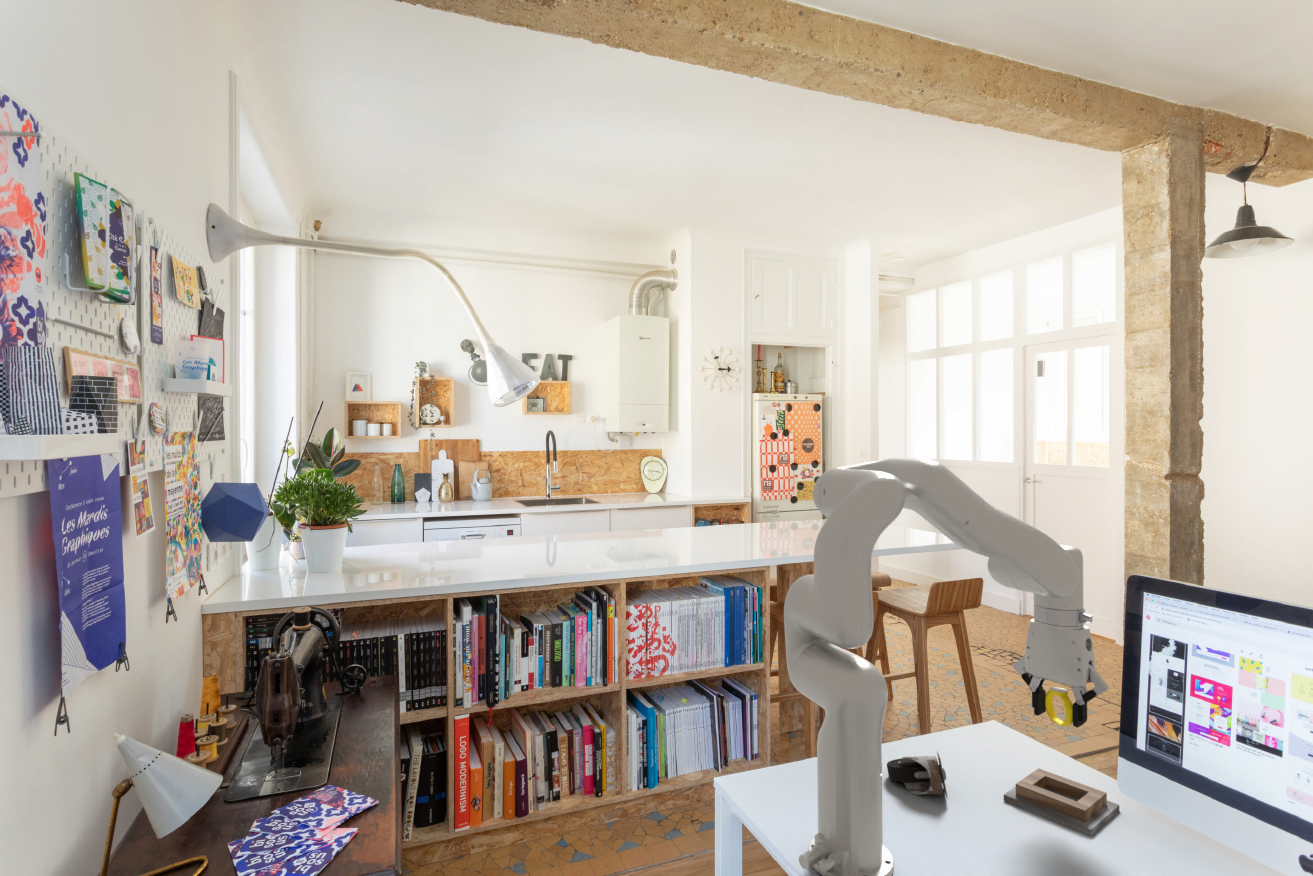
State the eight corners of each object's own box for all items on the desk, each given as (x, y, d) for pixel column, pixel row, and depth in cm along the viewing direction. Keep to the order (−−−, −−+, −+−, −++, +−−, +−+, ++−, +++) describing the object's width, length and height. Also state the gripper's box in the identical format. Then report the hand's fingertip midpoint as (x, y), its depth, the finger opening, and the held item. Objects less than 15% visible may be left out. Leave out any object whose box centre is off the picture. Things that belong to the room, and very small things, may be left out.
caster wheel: (890, 784, 133) (944, 782, 130) (891, 800, 123) (951, 799, 120) (884, 747, 135) (938, 745, 132) (885, 760, 124) (943, 758, 122)
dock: (1091, 836, 111) (1091, 817, 111) (1003, 800, 122) (1003, 783, 122) (1119, 810, 118) (1119, 793, 118) (1034, 779, 129) (1034, 763, 129)
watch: (1041, 718, 123) (1039, 684, 123) (1056, 718, 123) (1054, 684, 123) (1063, 730, 117) (1061, 694, 117) (1079, 729, 117) (1077, 694, 117)
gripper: (1122, 622, 115) (1123, 730, 115) (1017, 603, 129) (1018, 699, 129) (1105, 630, 111) (1106, 742, 111) (998, 609, 125) (999, 709, 124)
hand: (1059, 718), depth 120 cm, fingers closed on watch, 5 cm apart
